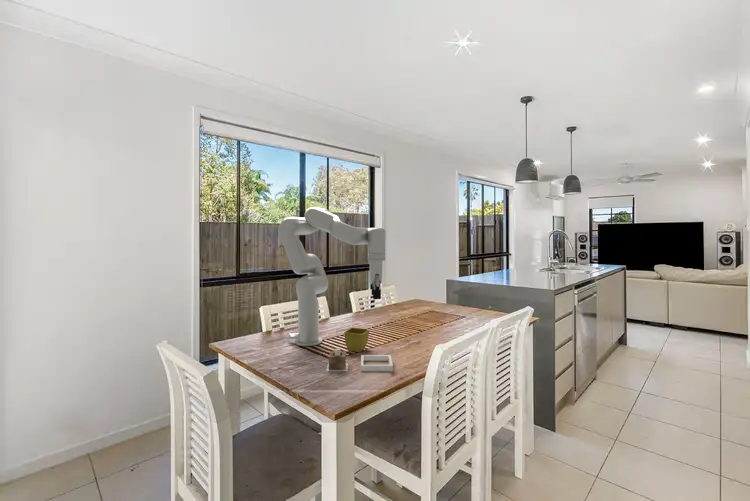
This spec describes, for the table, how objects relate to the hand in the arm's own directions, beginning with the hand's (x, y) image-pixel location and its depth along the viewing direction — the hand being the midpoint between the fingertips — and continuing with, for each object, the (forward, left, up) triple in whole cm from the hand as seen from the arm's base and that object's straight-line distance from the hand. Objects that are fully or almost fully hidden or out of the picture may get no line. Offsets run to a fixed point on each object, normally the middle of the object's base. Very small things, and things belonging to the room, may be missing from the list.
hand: (376, 296), depth 155 cm
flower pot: (-8, +4, -25) cm, 26 cm away
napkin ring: (-15, -17, -24) cm, 33 cm away
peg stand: (-15, -17, -25) cm, 34 cm away
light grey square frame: (0, -15, -25) cm, 29 cm away
